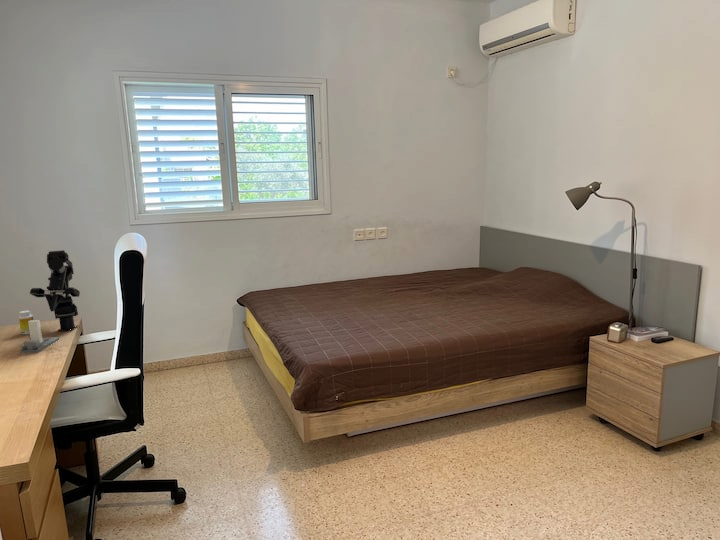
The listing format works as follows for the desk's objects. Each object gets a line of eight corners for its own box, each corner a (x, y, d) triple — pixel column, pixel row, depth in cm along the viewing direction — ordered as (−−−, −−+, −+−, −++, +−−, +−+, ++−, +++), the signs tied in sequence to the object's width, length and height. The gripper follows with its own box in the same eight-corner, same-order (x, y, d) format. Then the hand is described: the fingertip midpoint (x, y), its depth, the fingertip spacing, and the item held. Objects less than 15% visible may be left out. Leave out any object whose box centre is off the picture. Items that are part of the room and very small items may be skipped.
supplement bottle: (36, 333, 231) (32, 311, 229) (21, 335, 228) (18, 313, 226) (34, 330, 236) (31, 309, 234) (20, 332, 232) (16, 311, 230)
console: (43, 340, 220) (42, 331, 220) (59, 339, 221) (58, 330, 220) (20, 353, 205) (18, 343, 204) (38, 352, 205) (36, 343, 204)
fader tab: (36, 343, 213) (32, 319, 211) (44, 343, 213) (41, 319, 211) (30, 346, 208) (26, 322, 206) (38, 346, 208) (34, 322, 206)
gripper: (87, 282, 233) (82, 315, 228) (45, 283, 232) (39, 316, 227) (75, 274, 223) (70, 309, 218) (32, 275, 222) (25, 309, 217)
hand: (52, 311), depth 220 cm, fingers closed
